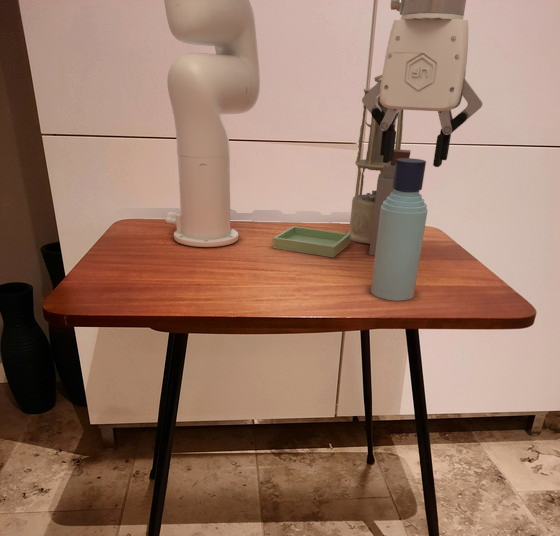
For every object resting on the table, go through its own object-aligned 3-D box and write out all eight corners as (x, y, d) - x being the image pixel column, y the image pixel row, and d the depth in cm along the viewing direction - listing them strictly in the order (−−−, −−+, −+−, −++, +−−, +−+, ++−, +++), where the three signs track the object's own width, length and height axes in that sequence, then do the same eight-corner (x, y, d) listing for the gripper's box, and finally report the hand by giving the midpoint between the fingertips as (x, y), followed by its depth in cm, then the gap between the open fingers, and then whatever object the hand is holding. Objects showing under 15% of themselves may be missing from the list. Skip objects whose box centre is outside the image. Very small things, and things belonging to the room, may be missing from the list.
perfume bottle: (405, 258, 101) (421, 154, 92) (368, 254, 102) (380, 151, 93) (405, 248, 107) (420, 149, 98) (370, 245, 108) (382, 147, 99)
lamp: (352, 245, 107) (369, 71, 93) (339, 228, 119) (352, 71, 104) (403, 245, 108) (427, 73, 94) (385, 228, 120) (405, 73, 105)
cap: (388, 188, 76) (392, 160, 74) (395, 184, 79) (399, 157, 77) (418, 192, 75) (423, 163, 73) (424, 187, 78) (428, 159, 76)
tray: (272, 248, 104) (272, 237, 103) (292, 235, 112) (293, 226, 111) (333, 257, 100) (334, 246, 99) (349, 244, 108) (350, 234, 107)
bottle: (365, 296, 83) (381, 164, 74) (376, 283, 88) (392, 159, 79) (408, 303, 81) (430, 169, 72) (417, 290, 86) (438, 163, 77)
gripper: (356, 5, 66) (344, 161, 75) (506, 2, 61) (474, 172, 69) (372, 11, 73) (359, 156, 81) (509, 10, 67) (480, 165, 75)
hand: (412, 162), depth 75 cm, fingers open, 6 cm apart
